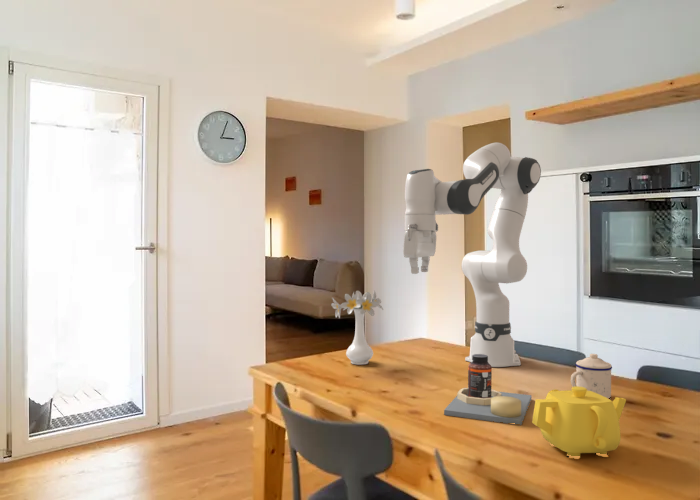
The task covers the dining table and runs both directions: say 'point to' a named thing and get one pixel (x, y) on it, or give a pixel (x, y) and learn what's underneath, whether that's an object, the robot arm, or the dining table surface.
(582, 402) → the teapot
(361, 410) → the dining table surface
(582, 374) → the teacup with lid
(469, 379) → the supplement bottle
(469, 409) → the carrier plate
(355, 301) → the flower vase
